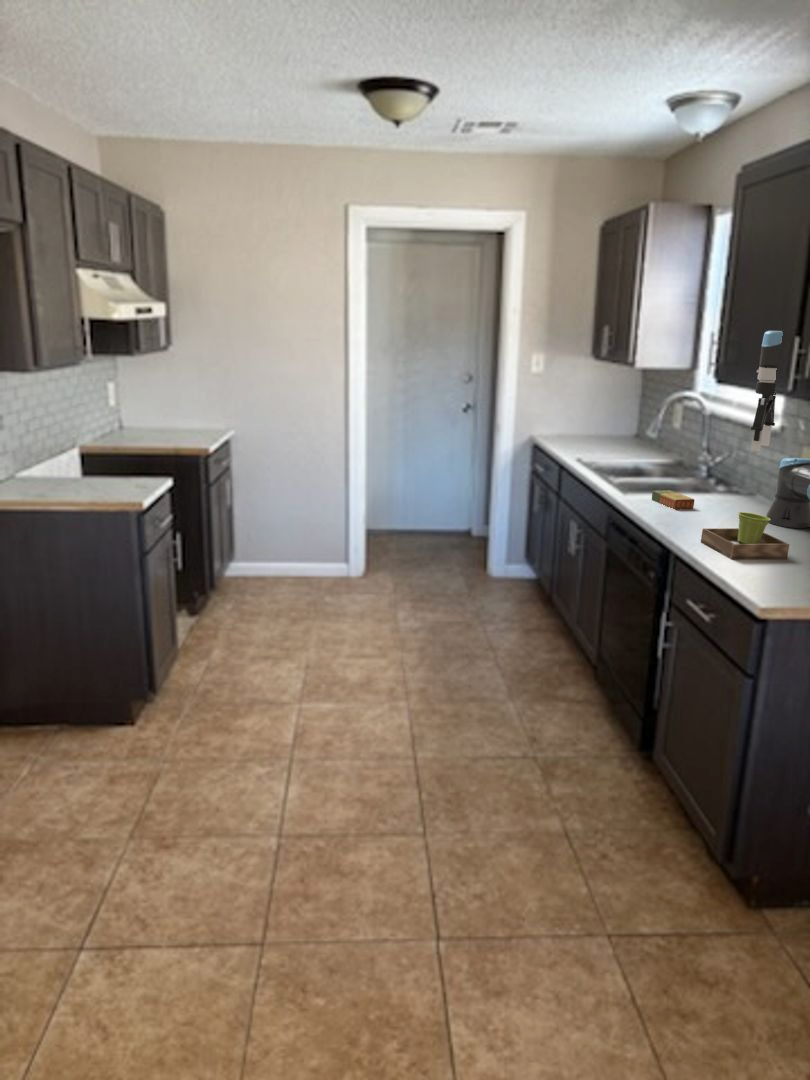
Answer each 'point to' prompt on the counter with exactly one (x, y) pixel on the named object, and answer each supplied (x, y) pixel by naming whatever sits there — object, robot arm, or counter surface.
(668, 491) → the carton
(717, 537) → the brown wooden square tray
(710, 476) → the counter surface
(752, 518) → the plant pot
